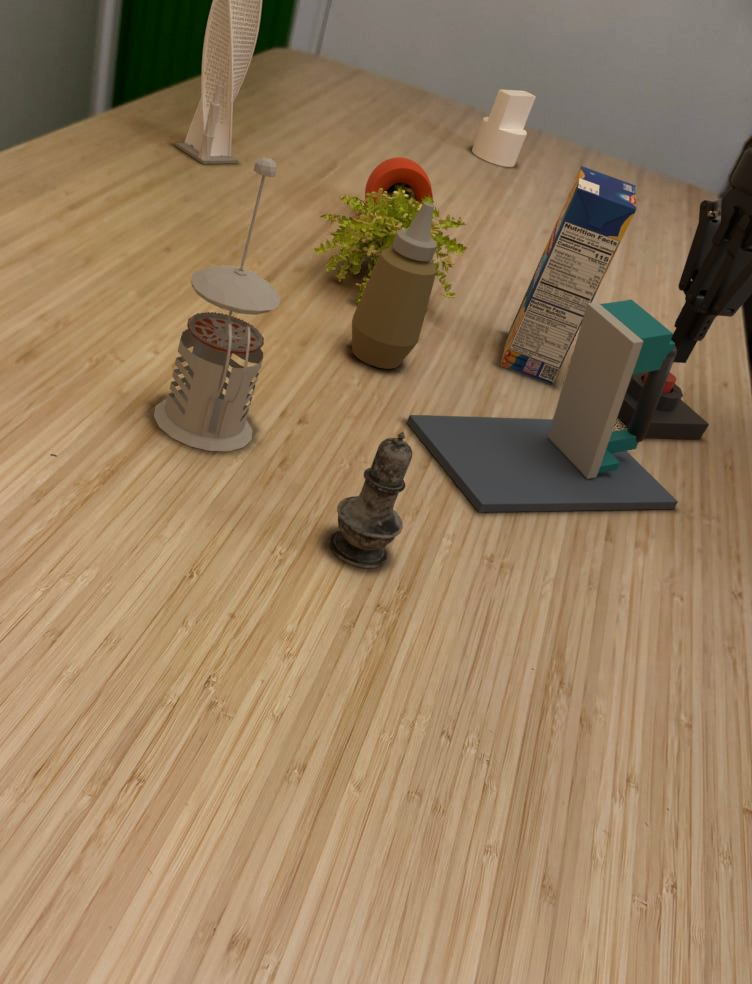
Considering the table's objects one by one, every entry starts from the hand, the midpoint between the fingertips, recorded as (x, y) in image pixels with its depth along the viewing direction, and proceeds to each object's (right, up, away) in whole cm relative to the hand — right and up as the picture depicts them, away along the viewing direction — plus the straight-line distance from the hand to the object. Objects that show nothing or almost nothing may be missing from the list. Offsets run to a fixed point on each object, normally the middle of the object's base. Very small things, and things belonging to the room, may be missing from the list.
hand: (673, 359), depth 125 cm
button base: (-2, -5, +5) cm, 8 cm away
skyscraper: (-59, +42, +37) cm, 81 cm away
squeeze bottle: (-36, -1, -3) cm, 36 cm away
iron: (-16, -8, -18) cm, 26 cm away
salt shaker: (-41, -26, -34) cm, 59 cm away
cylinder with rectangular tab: (-5, +62, +81) cm, 102 cm away
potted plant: (-34, +20, +22) cm, 45 cm away
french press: (-55, -14, -25) cm, 62 cm away
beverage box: (-15, +2, +8) cm, 18 cm away
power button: (-1, -3, +3) cm, 4 cm away
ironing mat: (-19, -15, -13) cm, 28 cm away
